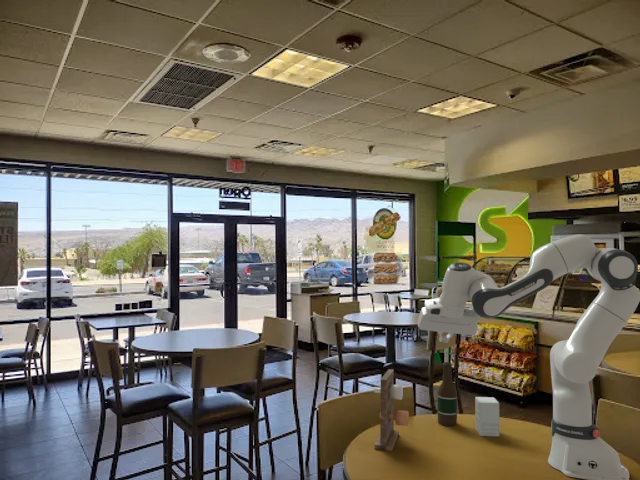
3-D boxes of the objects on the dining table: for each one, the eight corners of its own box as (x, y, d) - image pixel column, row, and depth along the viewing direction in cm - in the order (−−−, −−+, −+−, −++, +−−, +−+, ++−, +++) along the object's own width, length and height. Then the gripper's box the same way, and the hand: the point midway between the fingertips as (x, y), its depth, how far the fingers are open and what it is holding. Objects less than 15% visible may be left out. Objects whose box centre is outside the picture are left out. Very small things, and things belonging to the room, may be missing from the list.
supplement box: (494, 430, 185) (494, 397, 185) (499, 437, 178) (499, 402, 178) (474, 429, 186) (474, 396, 186) (479, 436, 178) (479, 402, 179)
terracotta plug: (408, 423, 173) (408, 409, 173) (406, 427, 168) (406, 413, 168) (381, 420, 176) (381, 406, 176) (378, 424, 171) (378, 410, 171)
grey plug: (402, 397, 174) (402, 383, 174) (400, 401, 169) (400, 387, 169) (375, 394, 177) (375, 381, 177) (372, 398, 172) (373, 384, 172)
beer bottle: (433, 423, 192) (433, 362, 193) (443, 418, 198) (443, 359, 198) (451, 428, 187) (451, 366, 187) (460, 423, 192) (460, 362, 193)
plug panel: (398, 434, 179) (399, 369, 180) (391, 451, 164) (392, 380, 165) (382, 432, 181) (383, 368, 182) (374, 448, 166) (374, 378, 167)
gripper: (479, 306, 167) (470, 339, 172) (420, 299, 167) (413, 333, 172) (483, 315, 161) (475, 349, 166) (423, 309, 161) (416, 343, 166)
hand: (443, 341), depth 169 cm, fingers closed
